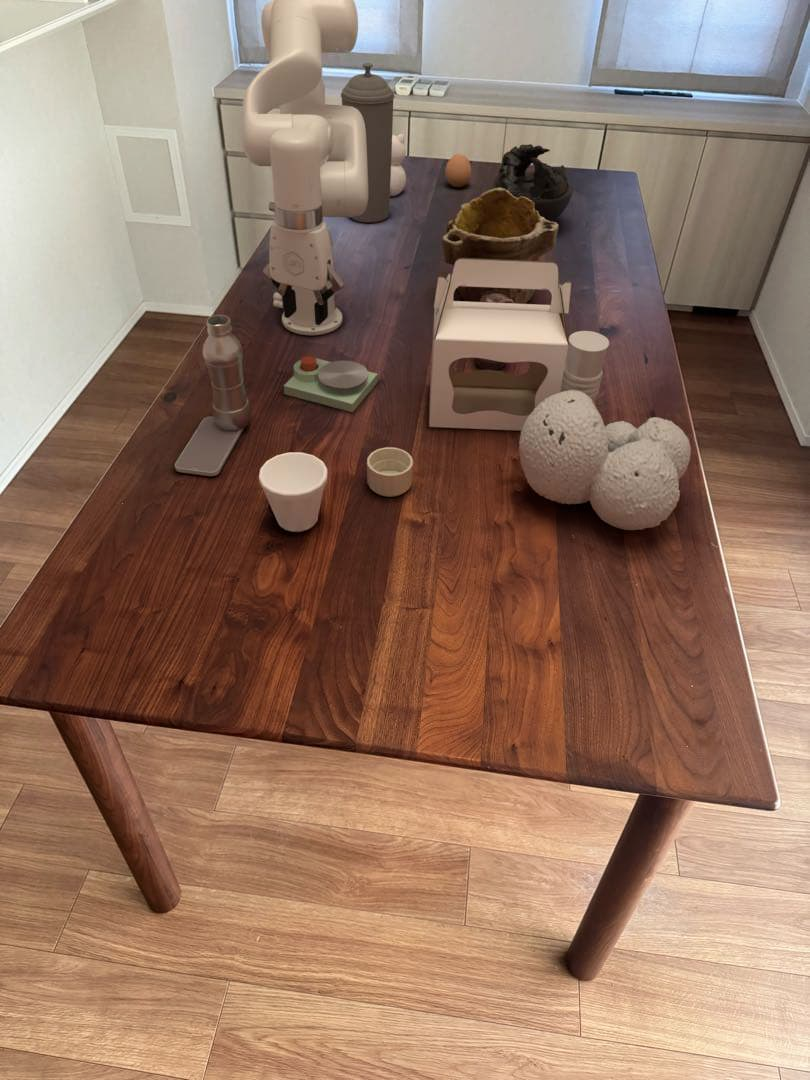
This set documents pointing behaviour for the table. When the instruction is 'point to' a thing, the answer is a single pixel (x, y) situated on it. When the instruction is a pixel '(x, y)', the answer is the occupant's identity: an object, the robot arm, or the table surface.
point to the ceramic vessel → (498, 236)
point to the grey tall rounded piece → (226, 375)
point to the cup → (294, 489)
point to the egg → (458, 170)
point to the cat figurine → (397, 165)
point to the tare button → (308, 363)
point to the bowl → (389, 471)
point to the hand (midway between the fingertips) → (305, 317)
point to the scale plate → (343, 374)
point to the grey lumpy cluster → (603, 461)
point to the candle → (585, 363)
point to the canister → (374, 137)
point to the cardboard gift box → (496, 345)
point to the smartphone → (207, 449)
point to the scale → (327, 388)
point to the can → (493, 298)
